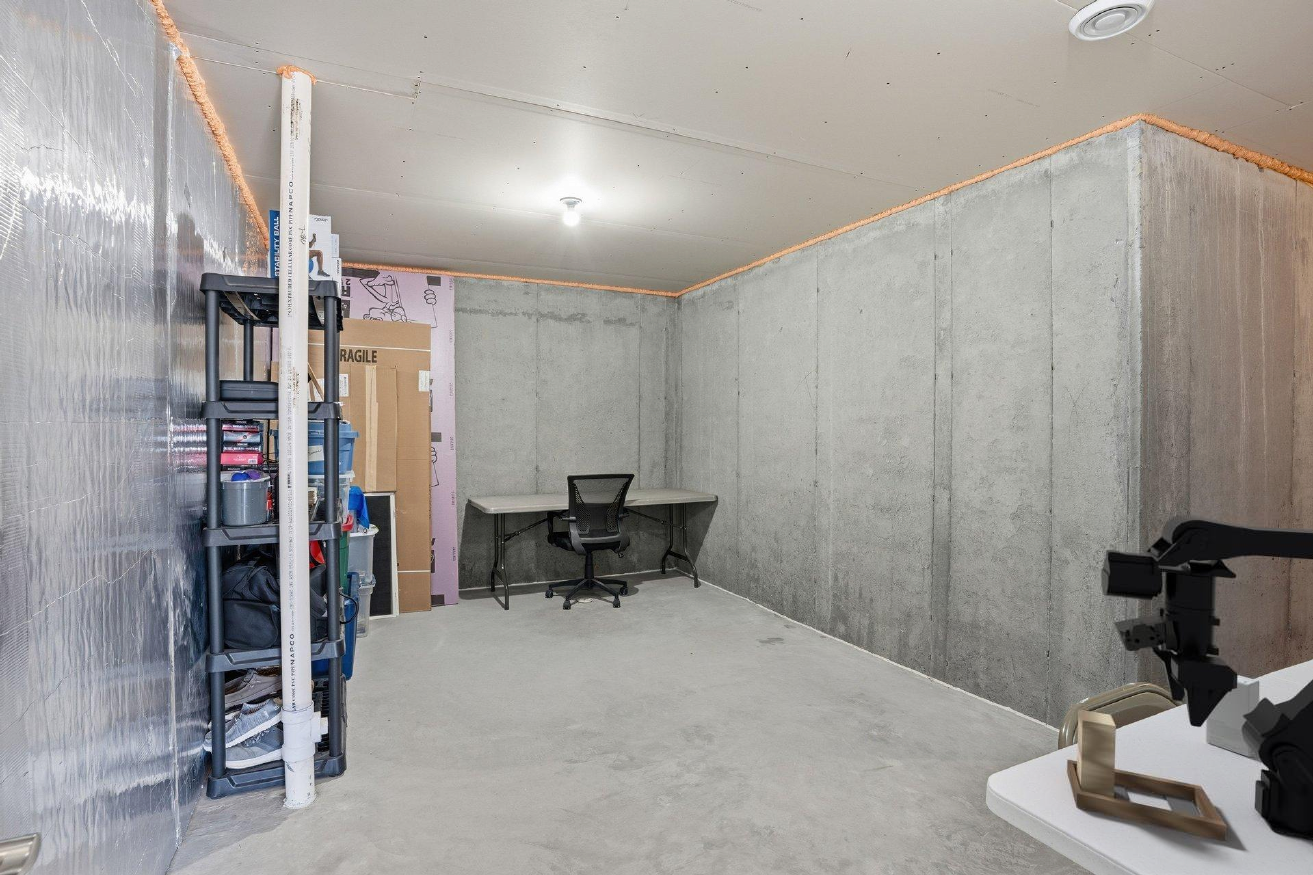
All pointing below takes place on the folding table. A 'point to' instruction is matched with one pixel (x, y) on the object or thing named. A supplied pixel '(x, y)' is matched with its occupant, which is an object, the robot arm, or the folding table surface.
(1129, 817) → the brown rectangular frame
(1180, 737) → the folding table surface
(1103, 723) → the maple block
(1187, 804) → the pads
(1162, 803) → the folding table surface
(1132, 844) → the folding table surface
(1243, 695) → the skincare box
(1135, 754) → the folding table surface
